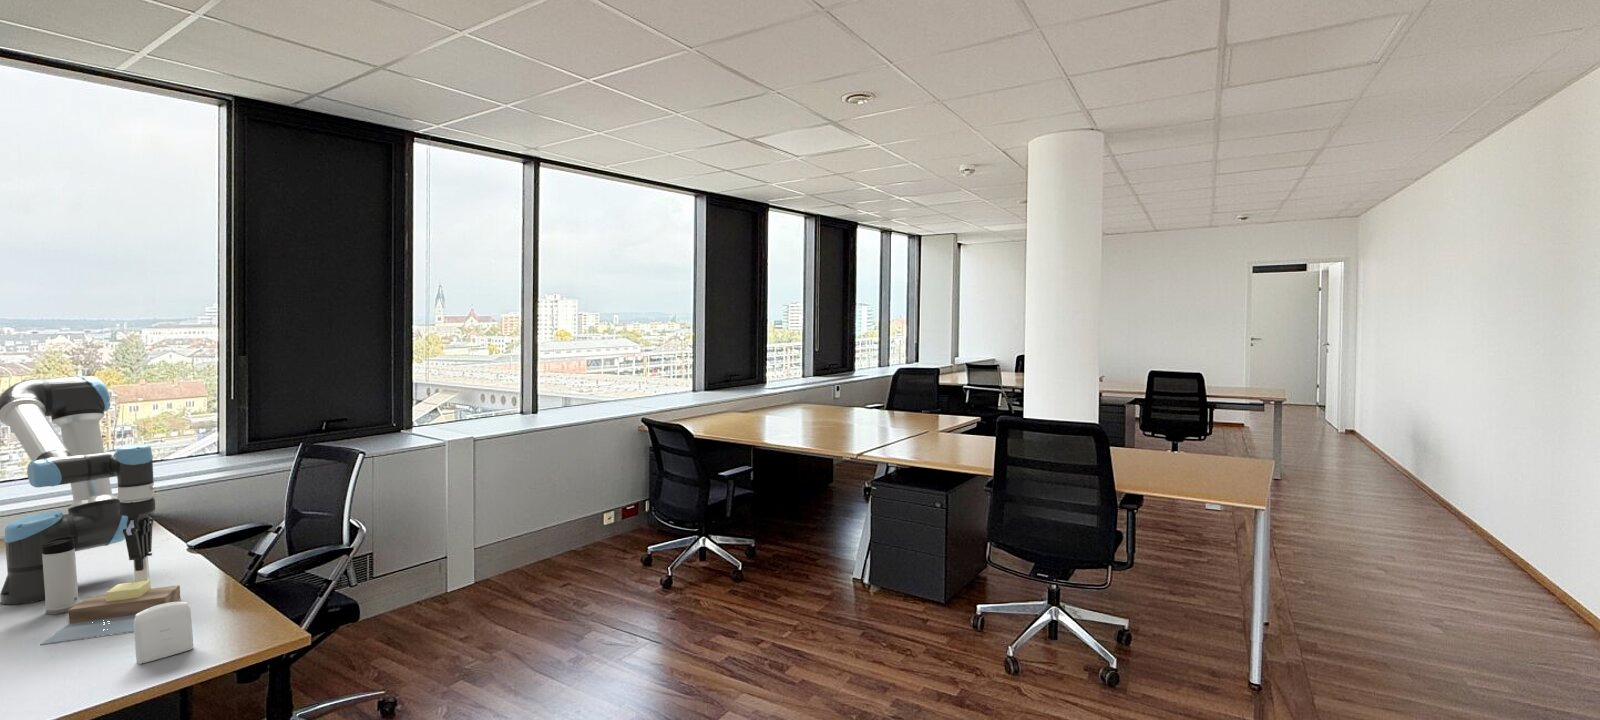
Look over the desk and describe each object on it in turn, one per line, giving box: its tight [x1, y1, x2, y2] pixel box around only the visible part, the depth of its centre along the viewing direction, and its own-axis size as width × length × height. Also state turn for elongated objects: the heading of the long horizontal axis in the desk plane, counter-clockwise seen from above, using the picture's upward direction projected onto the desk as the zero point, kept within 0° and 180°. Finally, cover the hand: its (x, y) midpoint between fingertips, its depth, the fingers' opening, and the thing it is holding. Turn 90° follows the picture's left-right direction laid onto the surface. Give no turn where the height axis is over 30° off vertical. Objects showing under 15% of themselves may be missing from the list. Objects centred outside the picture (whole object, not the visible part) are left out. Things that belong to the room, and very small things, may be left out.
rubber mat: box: [39, 615, 135, 646], centre depth 185 cm, size 13×20×1 cm, turn 113°
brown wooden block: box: [67, 584, 181, 624], centre depth 195 cm, size 10×20×4 cm, turn 113°
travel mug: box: [42, 536, 79, 615], centre depth 196 cm, size 6×7×20 cm
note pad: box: [105, 579, 152, 602], centre depth 197 cm, size 7×7×2 cm
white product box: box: [133, 601, 194, 665], centre depth 169 cm, size 10×4×12 cm, turn 140°
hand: (142, 580), depth 204 cm, fingers closed
